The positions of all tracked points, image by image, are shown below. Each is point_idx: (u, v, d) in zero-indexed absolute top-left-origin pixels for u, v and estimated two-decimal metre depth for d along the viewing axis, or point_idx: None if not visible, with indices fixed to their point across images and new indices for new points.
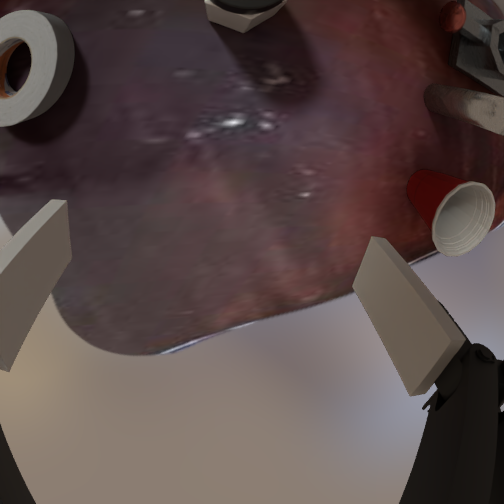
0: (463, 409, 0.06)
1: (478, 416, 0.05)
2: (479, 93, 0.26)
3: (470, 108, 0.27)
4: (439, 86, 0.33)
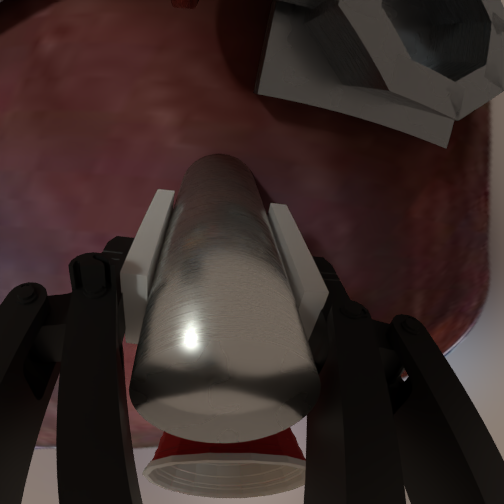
0: (338, 383, 0.06)
1: (359, 388, 0.06)
2: (178, 255, 0.09)
3: None
4: (191, 174, 0.16)
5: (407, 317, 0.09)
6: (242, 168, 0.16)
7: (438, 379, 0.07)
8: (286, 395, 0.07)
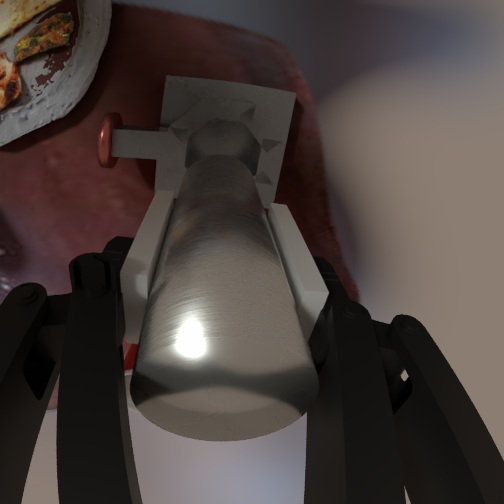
0: (338, 383, 0.06)
1: (359, 388, 0.06)
2: (178, 254, 0.09)
3: None
4: (191, 174, 0.16)
5: (407, 317, 0.09)
6: (242, 168, 0.16)
7: (438, 379, 0.07)
8: (284, 394, 0.07)
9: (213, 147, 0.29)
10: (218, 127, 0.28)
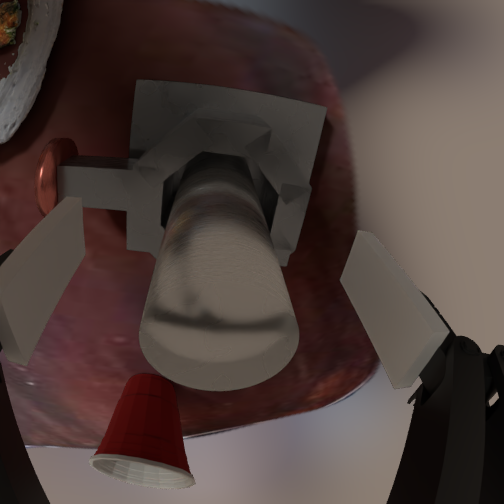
0: (449, 403, 0.06)
1: (464, 411, 0.06)
2: (181, 226, 0.10)
3: None
4: (192, 164, 0.17)
5: None
6: (238, 159, 0.18)
7: None
8: (270, 339, 0.08)
9: None
10: None
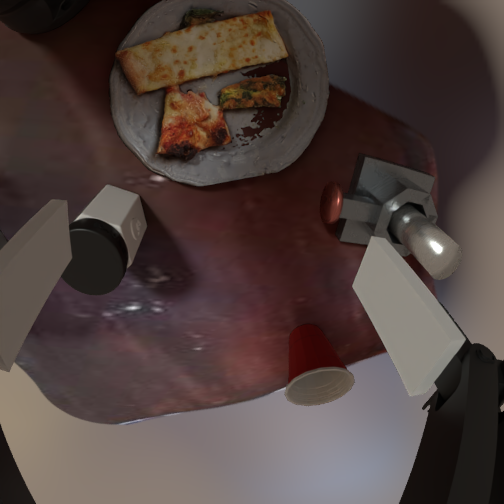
0: (463, 409, 0.06)
1: (478, 416, 0.05)
2: (426, 230, 0.31)
3: (413, 247, 0.32)
4: None
5: None
6: None
7: None
8: (456, 259, 0.29)
9: None
10: None
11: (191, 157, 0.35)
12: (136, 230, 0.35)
